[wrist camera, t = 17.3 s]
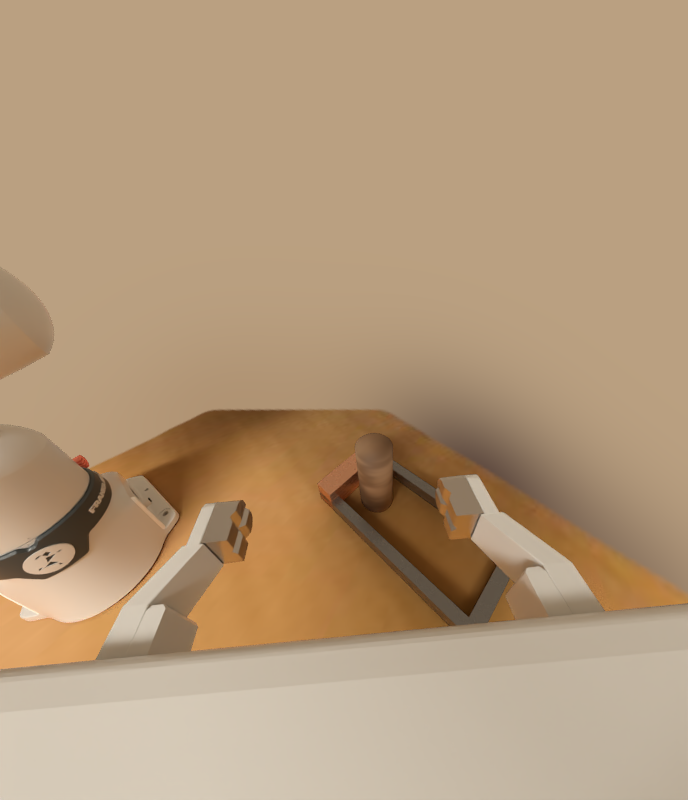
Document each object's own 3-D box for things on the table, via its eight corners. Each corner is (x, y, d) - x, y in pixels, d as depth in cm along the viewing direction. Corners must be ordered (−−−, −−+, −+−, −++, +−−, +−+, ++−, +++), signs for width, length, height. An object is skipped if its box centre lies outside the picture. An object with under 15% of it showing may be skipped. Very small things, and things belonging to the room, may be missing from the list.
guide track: (321, 497, 42) (317, 483, 40) (372, 453, 48) (371, 438, 46) (472, 649, 26) (480, 640, 24) (519, 555, 33) (530, 540, 30)
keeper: (354, 497, 41) (347, 447, 34) (375, 478, 44) (372, 427, 37) (377, 518, 38) (375, 468, 31) (398, 496, 41) (400, 445, 33)
